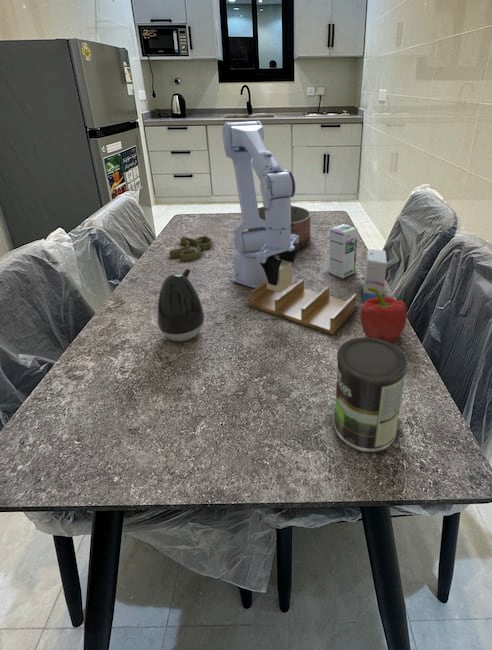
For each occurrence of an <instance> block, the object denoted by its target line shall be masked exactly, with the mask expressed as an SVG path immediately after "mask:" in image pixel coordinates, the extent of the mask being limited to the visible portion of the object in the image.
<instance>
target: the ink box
mask: <svg viewBox="0 0 492 650" xmlns="http://www.w3.org/2000/svg"><path fill="white" fill-rule="evenodd" d="M386 252H387V251H386V250H382V249H381V250H379V249H372V248H368V249H367V252H366V260H365V269H364V279H363V303H364V302H365V301H366V300H368V299H370V298H374V297H375V298H378V297H377V295H376V293H375V292H374V291H373V292H372V291H370V290H368V288H370V287H373V288H376V289H377V290H378V291H379V292H380V293H381V295H382V297H383V298H384V292H385V291H384V289H385V283H386V274H387V266H388V262H387V261H388V259H387V253H386Z"/></svg>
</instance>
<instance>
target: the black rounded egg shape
mask: <svg viewBox="0 0 492 650" xmlns="http://www.w3.org/2000/svg"><path fill="white" fill-rule="evenodd" d="M190 273H191V270H190V269H189V268H186V269H185V270H184V271H183V273H182V274H180V273H173V274H170V275H169V276H167V277H166V278H165V279H164V280H163V283H162V284H161V287H160V291H159V295H158V301H157V308H156V310H157V311H156V319H157V320H156V321H157V326H158V329H159V330H160V331H161V332H162V334H163V335H164V337H166V338H167V339H169V340H171V341H174V342H185V341H189V340H191V339H193V338H195V337H196V336H198V334H199V333H200V331H201V330H202V327H203V324H204V321H205V312H204V309H203V305H202V302H201V299H200V297H199V295H198V292H197V290H196V288H195V287H194V286H193V283H192V282H191V281H190V279H189V278H188V277H189V275H190Z"/></svg>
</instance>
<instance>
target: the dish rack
mask: <svg viewBox="0 0 492 650" xmlns="http://www.w3.org/2000/svg"><path fill="white" fill-rule="evenodd" d="M249 294H250V300H249V302H248V306H250V307H252V308H255V309H258V310H261V311H264V312H267V313H270V314H271V315H272V314H273V315H275V316H278V317H281V318H283V319H286V320H289V321H293V322H295V323H298V324H300V325H303V326H306V327H309V328H312V329H314V330H318V331H321V332H323V333H325V334H329V335H332V336H333V335H334V334H335V333H336V332H337V331H338V329H339V328H340V327H341V326H342V325H343V324H344V323H345V322H346V321H347V320H348V318H350V316H351V315H352V314H353V313H354V312H355V311H356V310H357V308H358V303H357V295H358V294H356V293H353V294H352V295H351V296H350V297H349V298H348V299H347V300H344V299H340V298H337V297H334V296H332V295H330V286H329V285H327V286H325V287H324V288H323V289H322V290H321V291H319V292H318V291H314V290H310V289H308V288H305V279H302V278H301V279H300V280H299V281H297V282H295V283H294V284H292V285H290V286H289V287H288V288H286V289H285V290H284V291H282V292H281V293H279V292H276V291H273V290H270V289H267V281H265V282H264V283H262V284H261V285H259V286H258V287H256V288H253V289H252V290H250V291H249Z"/></svg>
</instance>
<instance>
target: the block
mask: <svg viewBox="0 0 492 650" xmlns="http://www.w3.org/2000/svg"><path fill="white" fill-rule="evenodd" d="M278 259H279V258H278ZM279 260H281V259H279ZM290 285H293V265H292V262H289V261H285V260H282V262H281V265H280V268H279V272H278V282H277V285H276V286H275V285H271V284H269V283H268V280H267V289H270V290H273V291H276V292H279V293H281V292H282V291H284V290H285V289H286V288H288V287H289V286H290Z"/></svg>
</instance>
